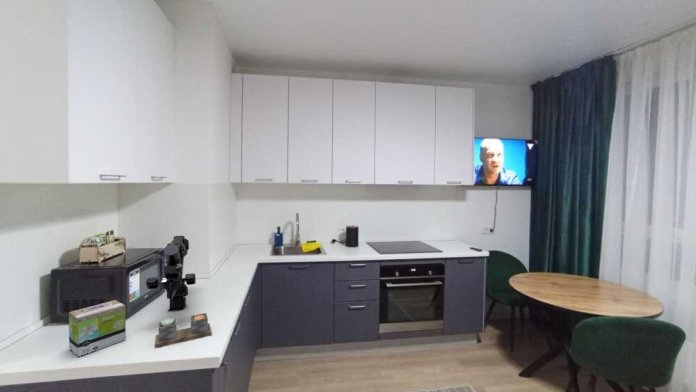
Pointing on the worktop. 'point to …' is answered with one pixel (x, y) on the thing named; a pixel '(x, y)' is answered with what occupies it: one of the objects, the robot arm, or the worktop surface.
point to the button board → (182, 332)
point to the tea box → (97, 327)
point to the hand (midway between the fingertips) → (170, 299)
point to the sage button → (167, 322)
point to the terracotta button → (199, 317)
